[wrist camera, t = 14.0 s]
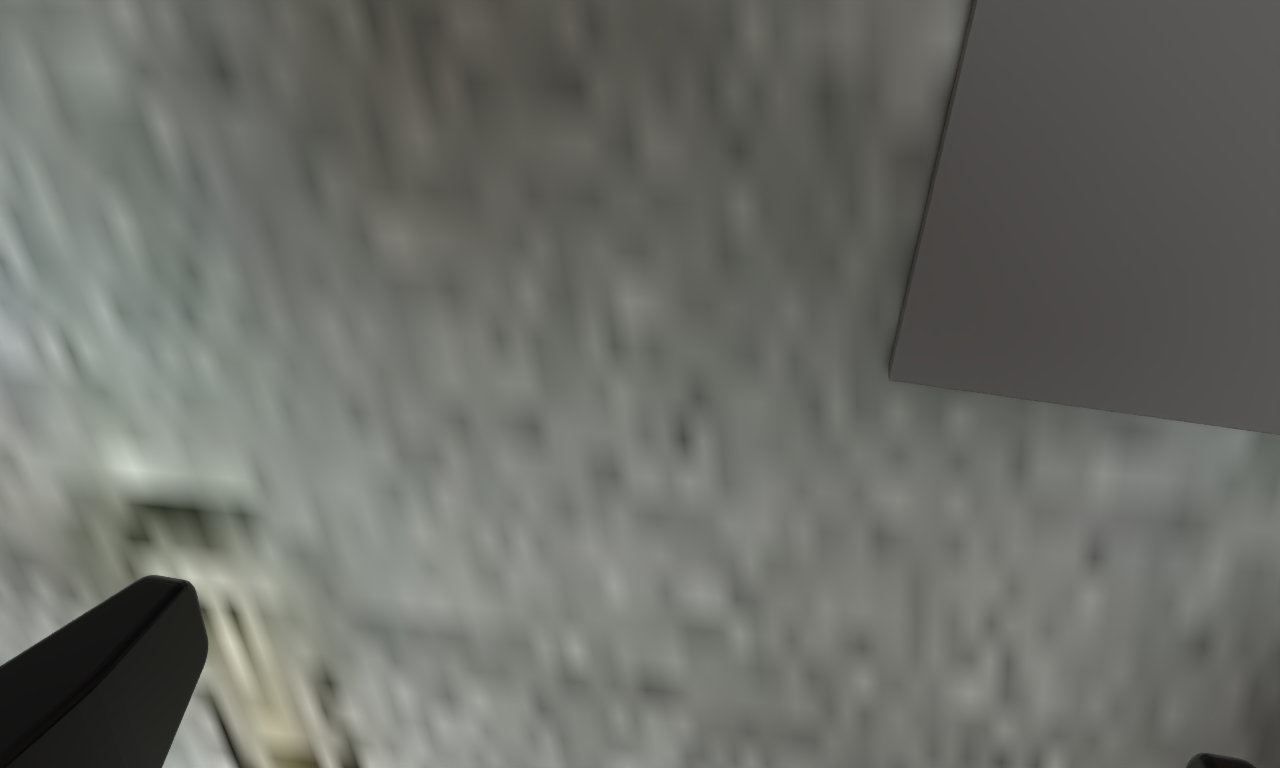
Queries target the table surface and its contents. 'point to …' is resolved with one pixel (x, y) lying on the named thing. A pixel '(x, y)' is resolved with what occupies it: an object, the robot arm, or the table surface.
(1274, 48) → the mat
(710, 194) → the table surface
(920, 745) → the table surface
